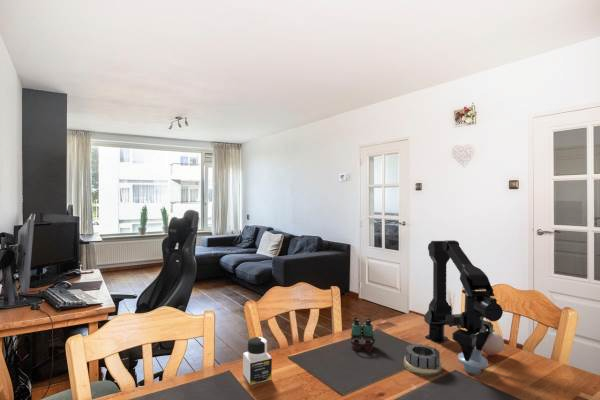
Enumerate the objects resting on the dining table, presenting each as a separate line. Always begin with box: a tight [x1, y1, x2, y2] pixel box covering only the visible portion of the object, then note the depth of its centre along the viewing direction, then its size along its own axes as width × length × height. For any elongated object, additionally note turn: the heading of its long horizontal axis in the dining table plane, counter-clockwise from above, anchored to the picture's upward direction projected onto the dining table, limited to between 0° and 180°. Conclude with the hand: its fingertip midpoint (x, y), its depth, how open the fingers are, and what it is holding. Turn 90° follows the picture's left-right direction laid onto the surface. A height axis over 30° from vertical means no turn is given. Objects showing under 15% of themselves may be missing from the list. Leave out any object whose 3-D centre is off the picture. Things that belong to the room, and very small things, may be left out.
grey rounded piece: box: [457, 348, 489, 375], centre depth 117 cm, size 9×9×7 cm
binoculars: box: [350, 317, 376, 352], centre depth 132 cm, size 9×11×10 cm
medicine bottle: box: [242, 336, 273, 386], centre depth 111 cm, size 7×7×12 cm
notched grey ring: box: [403, 343, 442, 377], centre depth 118 cm, size 12×12×6 cm
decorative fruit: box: [481, 329, 505, 356], centre depth 128 cm, size 9×8×10 cm
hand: (472, 356), depth 117 cm, fingers open, 9 cm apart
